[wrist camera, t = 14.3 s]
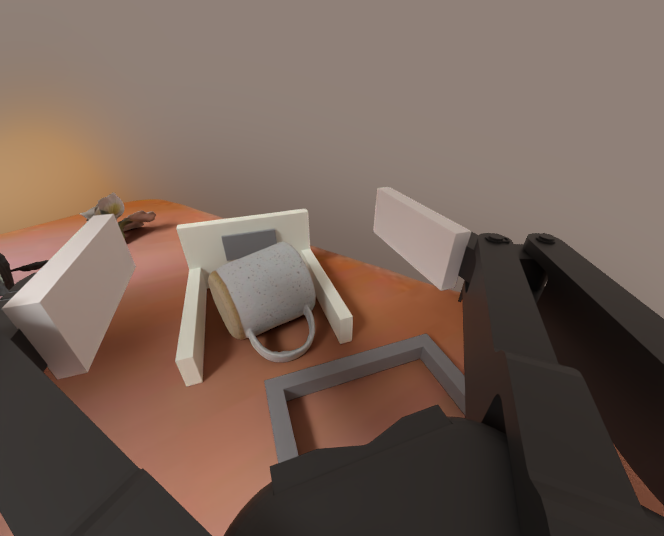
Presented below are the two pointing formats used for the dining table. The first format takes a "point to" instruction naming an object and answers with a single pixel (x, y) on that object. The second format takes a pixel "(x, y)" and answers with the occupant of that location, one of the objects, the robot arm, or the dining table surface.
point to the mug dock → (234, 243)
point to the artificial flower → (112, 204)
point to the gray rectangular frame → (350, 370)
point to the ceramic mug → (265, 296)
